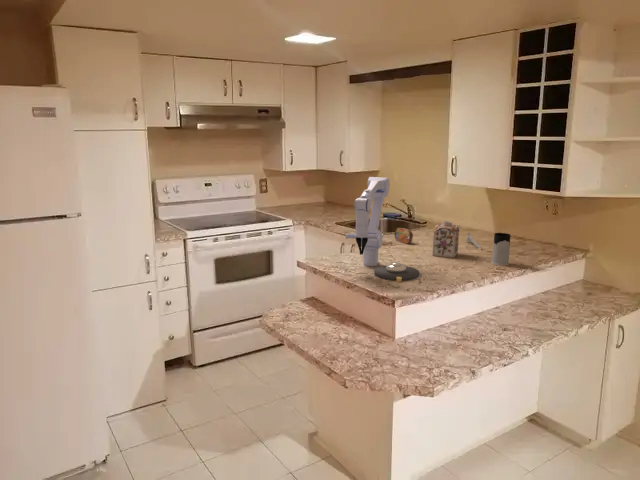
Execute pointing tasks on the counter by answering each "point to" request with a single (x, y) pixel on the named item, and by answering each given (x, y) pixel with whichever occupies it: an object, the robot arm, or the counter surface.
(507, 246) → the glass holder
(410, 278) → the turntable
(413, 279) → the base
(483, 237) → the counter surface
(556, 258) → the counter surface
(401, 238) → the tin
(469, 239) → the caliper
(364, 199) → the robot arm
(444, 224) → the decorative jar
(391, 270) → the cover
